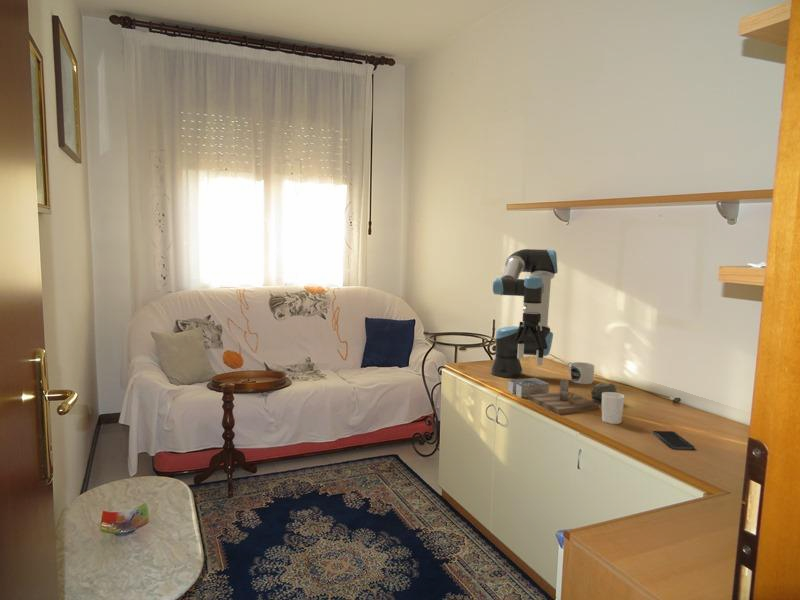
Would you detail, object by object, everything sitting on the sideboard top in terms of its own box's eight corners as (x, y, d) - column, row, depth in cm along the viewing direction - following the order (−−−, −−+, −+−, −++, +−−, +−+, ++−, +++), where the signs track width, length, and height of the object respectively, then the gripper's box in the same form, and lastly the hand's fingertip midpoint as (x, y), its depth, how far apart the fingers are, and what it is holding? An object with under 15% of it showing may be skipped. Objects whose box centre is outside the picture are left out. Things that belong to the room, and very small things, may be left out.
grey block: (534, 388, 247) (535, 377, 247) (548, 394, 238) (549, 383, 238) (507, 391, 242) (508, 380, 241) (521, 397, 233) (521, 386, 232)
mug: (597, 382, 261) (599, 365, 260) (585, 385, 254) (586, 368, 253) (573, 376, 271) (574, 360, 270) (560, 379, 265) (561, 362, 264)
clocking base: (528, 400, 230) (529, 376, 228) (567, 395, 237) (569, 373, 236) (558, 414, 212) (559, 388, 211) (599, 409, 220) (600, 384, 219)
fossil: (588, 402, 227) (591, 378, 230) (591, 407, 234) (593, 384, 238) (617, 405, 222) (619, 381, 225) (618, 410, 229) (620, 387, 233)
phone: (671, 447, 179) (651, 430, 194) (671, 450, 179) (651, 433, 194) (696, 447, 179) (674, 431, 194) (695, 451, 179) (674, 434, 194)
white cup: (596, 420, 206) (597, 394, 205) (607, 416, 211) (608, 390, 210) (615, 426, 200) (617, 399, 199) (626, 421, 205) (628, 395, 204)
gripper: (508, 309, 246) (505, 356, 248) (542, 316, 223) (540, 368, 225) (522, 308, 249) (520, 355, 251) (557, 316, 226) (555, 367, 228)
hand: (529, 361), depth 238 cm, fingers open, 13 cm apart
